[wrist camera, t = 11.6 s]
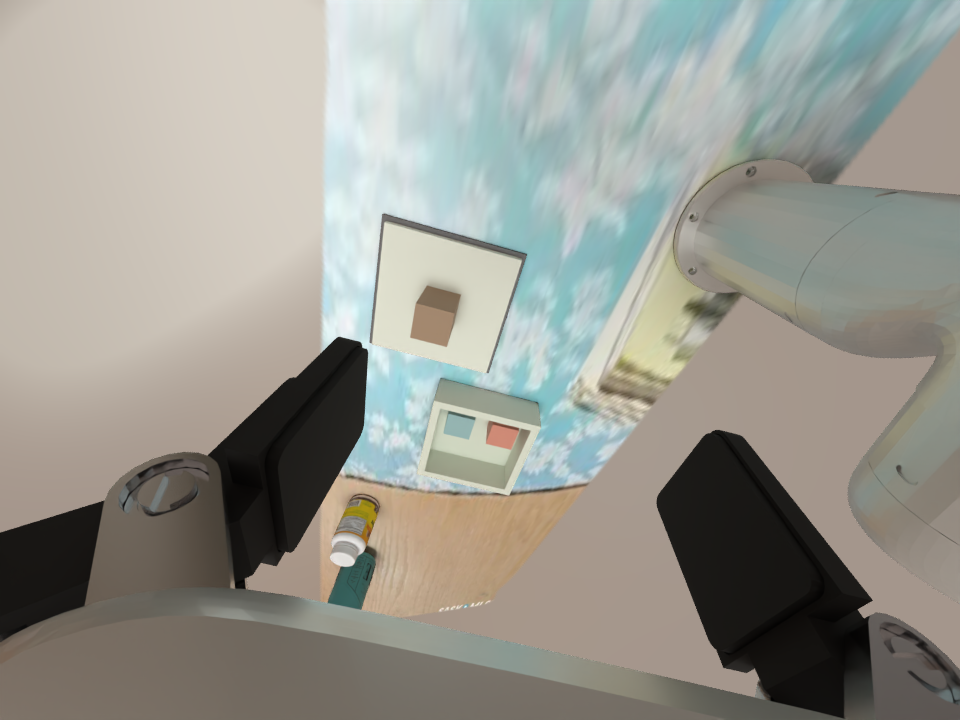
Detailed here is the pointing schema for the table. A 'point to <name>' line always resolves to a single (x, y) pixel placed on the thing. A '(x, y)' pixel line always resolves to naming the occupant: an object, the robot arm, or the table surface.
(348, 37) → the table surface
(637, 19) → the table surface
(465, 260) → the lid
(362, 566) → the beverage bottle
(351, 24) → the table surface
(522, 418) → the box
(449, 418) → the teal block
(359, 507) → the supplement bottle
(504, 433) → the red block
